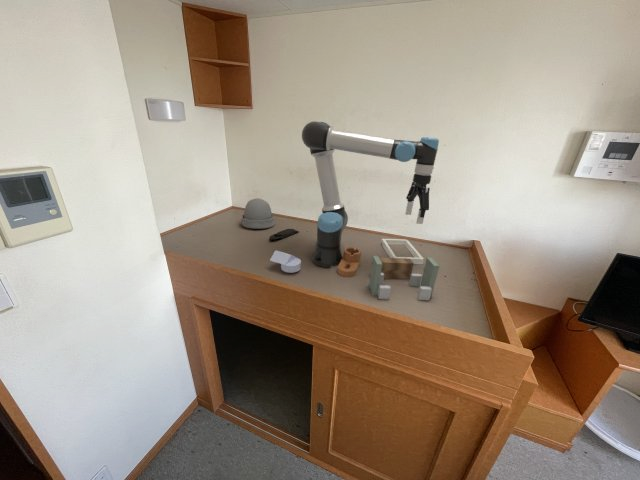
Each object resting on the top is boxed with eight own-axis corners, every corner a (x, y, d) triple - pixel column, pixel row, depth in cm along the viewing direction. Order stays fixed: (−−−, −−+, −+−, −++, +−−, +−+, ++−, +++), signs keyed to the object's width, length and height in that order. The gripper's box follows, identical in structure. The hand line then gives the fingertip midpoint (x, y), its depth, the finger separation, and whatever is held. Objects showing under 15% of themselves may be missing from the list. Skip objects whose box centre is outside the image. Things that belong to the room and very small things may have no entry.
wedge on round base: (269, 266, 124) (293, 274, 118) (269, 253, 121) (294, 260, 116) (281, 259, 131) (304, 266, 126) (281, 246, 129) (304, 253, 123)
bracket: (344, 258, 136) (346, 245, 134) (361, 261, 134) (362, 248, 131) (335, 274, 120) (336, 261, 118) (353, 278, 118) (355, 264, 116)
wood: (290, 228, 169) (291, 224, 168) (299, 232, 166) (300, 228, 164) (263, 238, 153) (263, 233, 152) (272, 243, 149) (272, 238, 148)
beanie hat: (276, 235, 180) (282, 206, 183) (265, 229, 159) (271, 196, 162) (248, 231, 184) (253, 203, 187) (233, 225, 163) (239, 193, 166)
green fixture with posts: (373, 299, 104) (378, 267, 99) (367, 282, 115) (371, 253, 110) (434, 300, 105) (442, 268, 100) (422, 283, 117) (429, 254, 111)
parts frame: (393, 263, 133) (394, 258, 132) (381, 243, 156) (381, 238, 155) (422, 264, 134) (424, 259, 133) (406, 244, 157) (407, 239, 156)
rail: (374, 278, 119) (377, 262, 116) (372, 273, 123) (375, 257, 120) (410, 279, 120) (413, 263, 117) (407, 274, 124) (410, 258, 121)
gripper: (444, 179, 110) (432, 228, 118) (419, 170, 133) (410, 211, 141) (427, 178, 109) (416, 227, 117) (404, 169, 132) (397, 210, 140)
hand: (413, 218), depth 129 cm, fingers open, 13 cm apart
